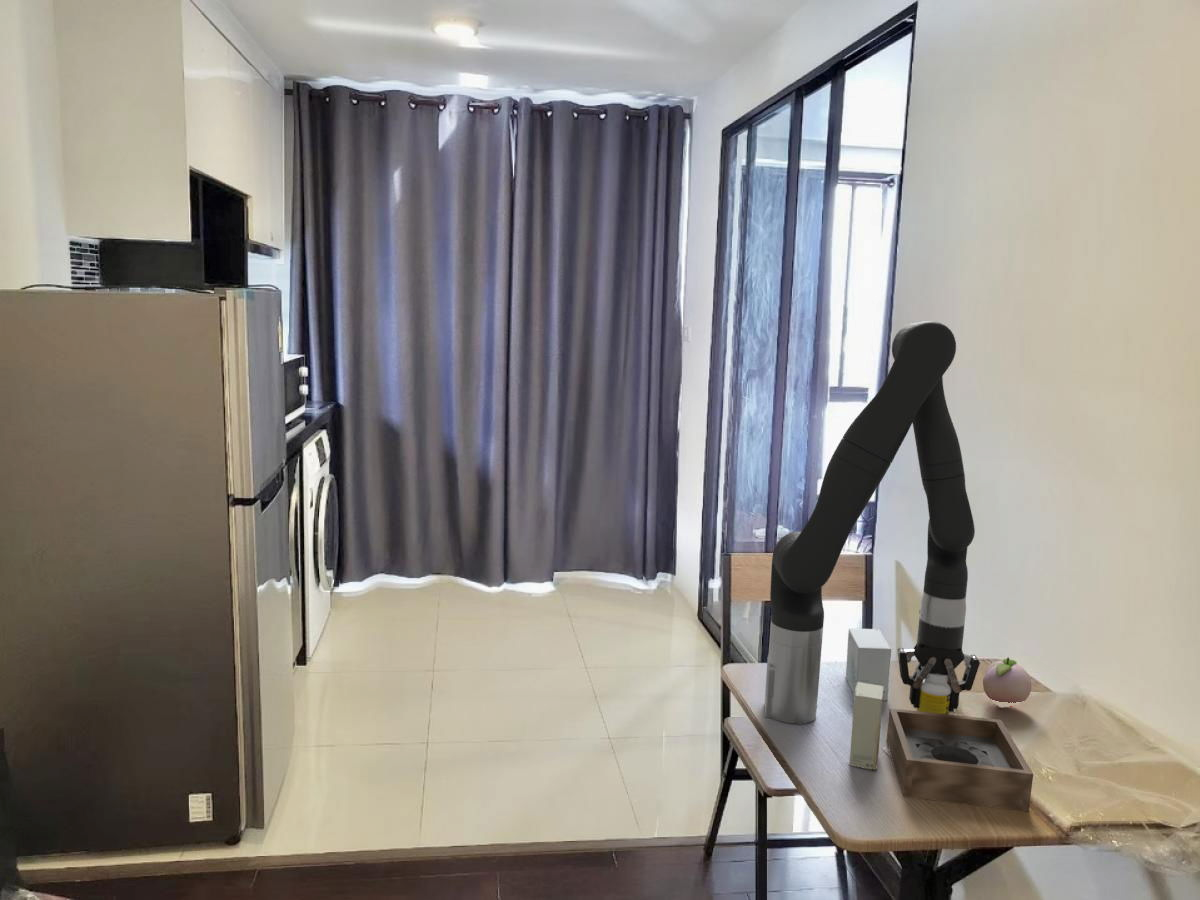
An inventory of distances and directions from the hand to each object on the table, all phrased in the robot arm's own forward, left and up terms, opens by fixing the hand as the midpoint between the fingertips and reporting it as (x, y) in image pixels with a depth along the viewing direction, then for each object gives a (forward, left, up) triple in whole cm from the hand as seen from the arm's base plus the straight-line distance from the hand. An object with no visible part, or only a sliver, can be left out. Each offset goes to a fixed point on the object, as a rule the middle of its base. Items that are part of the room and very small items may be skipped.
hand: (933, 707), depth 161 cm
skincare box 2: (-14, -17, -3) cm, 22 cm away
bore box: (0, -18, -3) cm, 18 cm away
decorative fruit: (+15, +10, -3) cm, 18 cm away
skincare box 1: (-10, +13, -3) cm, 17 cm away
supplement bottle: (0, 0, -3) cm, 3 cm away
